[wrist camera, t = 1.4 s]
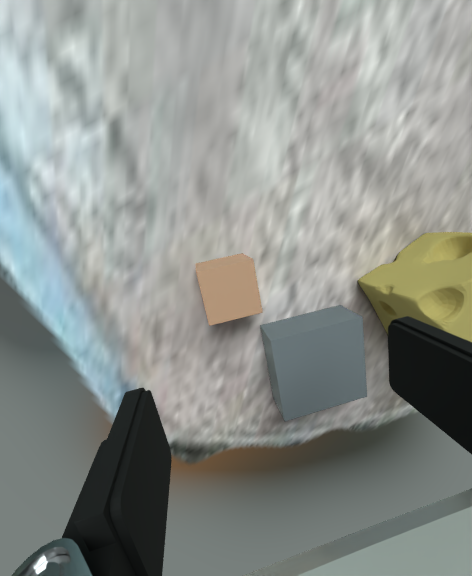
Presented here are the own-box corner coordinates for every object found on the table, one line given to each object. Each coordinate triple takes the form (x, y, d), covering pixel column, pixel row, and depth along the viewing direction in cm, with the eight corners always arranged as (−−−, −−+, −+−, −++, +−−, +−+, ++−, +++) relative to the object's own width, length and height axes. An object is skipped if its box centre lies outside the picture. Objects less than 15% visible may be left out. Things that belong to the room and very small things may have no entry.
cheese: (353, 280, 29) (431, 306, 20) (428, 226, 29) (542, 227, 20) (387, 342, 32) (469, 392, 23) (455, 294, 32) (565, 323, 23)
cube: (242, 253, 26) (253, 259, 22) (250, 297, 28) (262, 312, 23) (195, 263, 26) (196, 272, 21) (206, 308, 27) (209, 325, 22)
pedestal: (340, 305, 30) (362, 316, 26) (346, 376, 32) (367, 396, 29) (260, 325, 29) (270, 340, 25) (273, 397, 31) (284, 421, 28)
